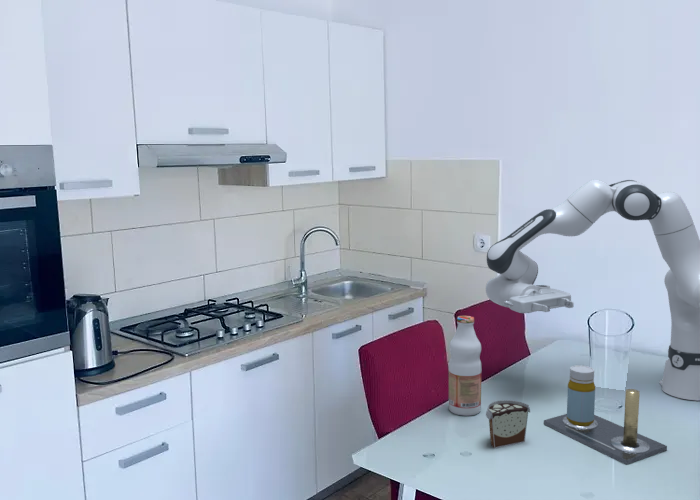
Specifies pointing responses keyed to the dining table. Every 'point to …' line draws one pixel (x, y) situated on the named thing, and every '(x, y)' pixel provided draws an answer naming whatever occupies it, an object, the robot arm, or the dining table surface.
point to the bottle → (581, 396)
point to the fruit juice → (465, 369)
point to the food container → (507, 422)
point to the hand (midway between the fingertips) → (560, 307)
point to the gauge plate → (612, 433)
